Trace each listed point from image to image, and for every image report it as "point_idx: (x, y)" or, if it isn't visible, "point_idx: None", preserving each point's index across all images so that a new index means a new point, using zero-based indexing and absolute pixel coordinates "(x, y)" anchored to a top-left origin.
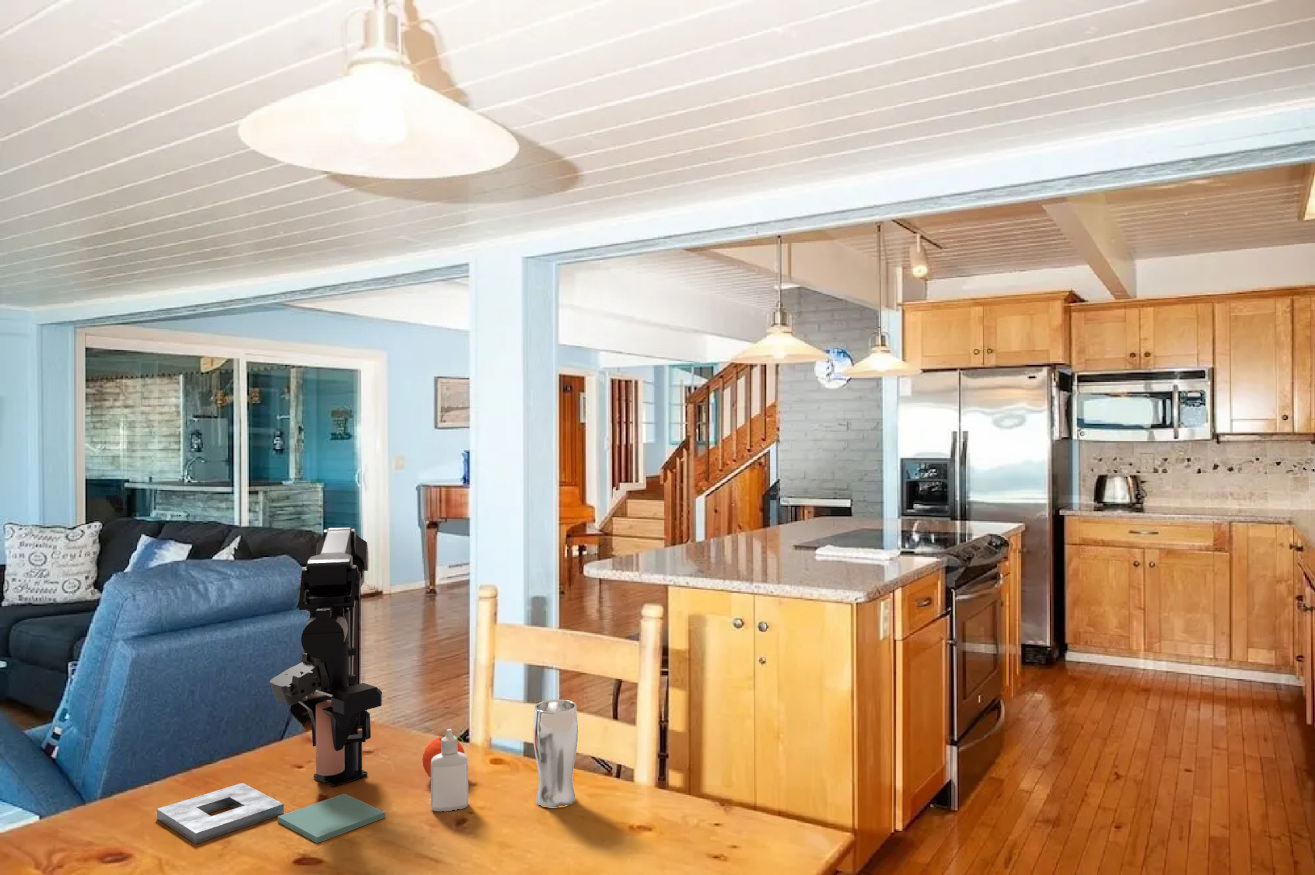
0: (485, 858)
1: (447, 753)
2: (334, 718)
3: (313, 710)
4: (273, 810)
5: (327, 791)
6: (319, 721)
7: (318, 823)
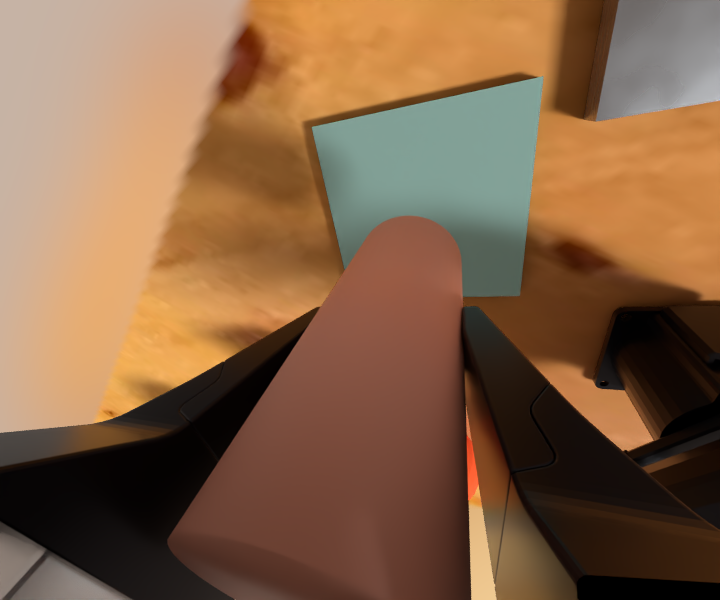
0: (151, 306)
1: None
2: (97, 426)
3: (517, 502)
4: (599, 74)
5: (609, 285)
6: (302, 380)
7: (391, 165)
